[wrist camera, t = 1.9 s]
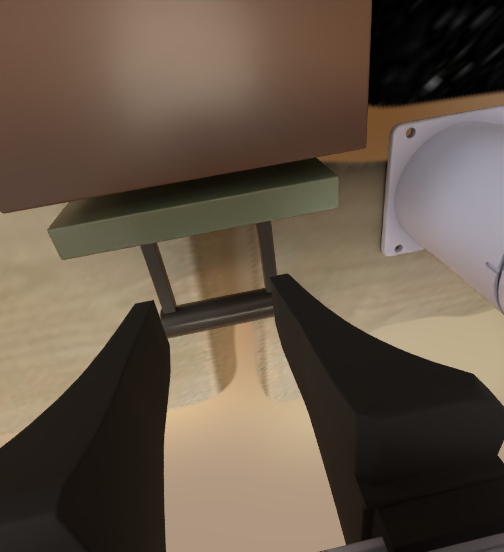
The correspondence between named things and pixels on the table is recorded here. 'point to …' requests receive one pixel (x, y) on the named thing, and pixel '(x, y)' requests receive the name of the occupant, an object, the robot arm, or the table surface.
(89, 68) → the cabinet
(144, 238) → the drawer
